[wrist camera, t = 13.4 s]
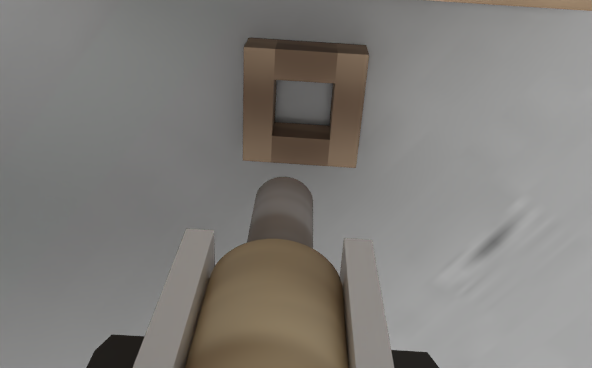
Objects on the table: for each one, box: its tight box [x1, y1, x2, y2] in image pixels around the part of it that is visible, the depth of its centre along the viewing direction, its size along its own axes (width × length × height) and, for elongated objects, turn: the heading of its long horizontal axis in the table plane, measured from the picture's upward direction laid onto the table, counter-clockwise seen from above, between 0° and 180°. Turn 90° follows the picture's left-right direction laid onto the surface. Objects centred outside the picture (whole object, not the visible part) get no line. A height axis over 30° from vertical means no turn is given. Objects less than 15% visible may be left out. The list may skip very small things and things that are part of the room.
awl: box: [185, 177, 349, 368], centre depth 13 cm, size 4×4×12 cm
